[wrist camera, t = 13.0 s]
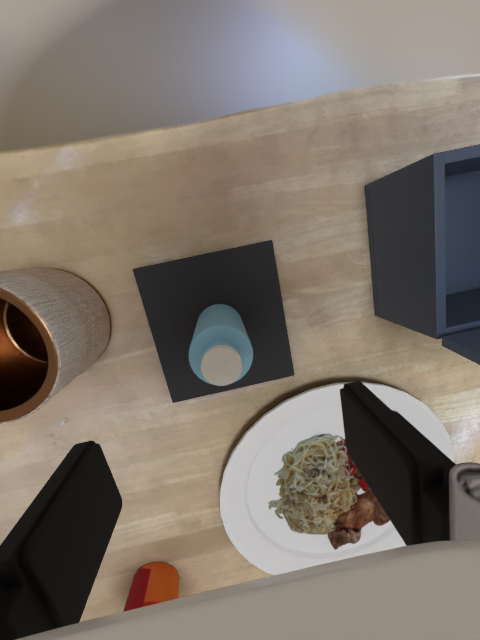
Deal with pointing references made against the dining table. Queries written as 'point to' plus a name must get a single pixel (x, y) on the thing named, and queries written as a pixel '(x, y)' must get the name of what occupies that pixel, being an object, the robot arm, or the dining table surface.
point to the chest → (428, 243)
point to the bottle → (220, 346)
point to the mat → (209, 289)
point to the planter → (45, 336)
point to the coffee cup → (153, 586)
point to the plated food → (311, 483)
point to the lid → (464, 344)
